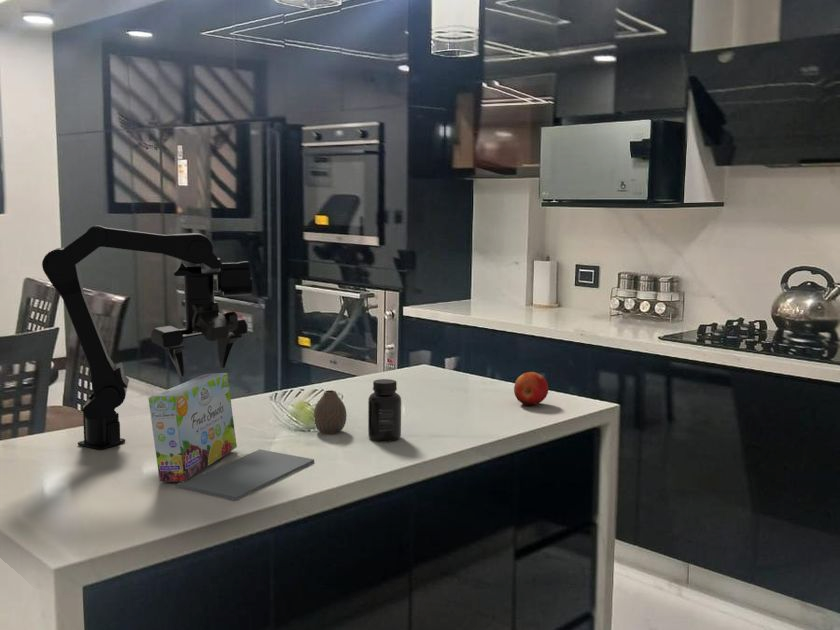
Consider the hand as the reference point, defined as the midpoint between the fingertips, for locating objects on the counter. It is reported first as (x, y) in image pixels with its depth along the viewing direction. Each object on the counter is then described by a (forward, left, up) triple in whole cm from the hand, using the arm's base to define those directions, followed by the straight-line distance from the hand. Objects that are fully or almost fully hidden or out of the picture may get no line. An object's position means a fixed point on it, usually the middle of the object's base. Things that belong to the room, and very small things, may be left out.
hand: (202, 371), depth 171 cm
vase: (+21, +16, -14) cm, 29 cm away
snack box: (+13, -15, -13) cm, 24 cm away
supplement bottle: (+33, +18, -14) cm, 40 cm away
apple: (+50, +61, -14) cm, 80 cm away
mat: (+23, -15, -13) cm, 30 cm away
